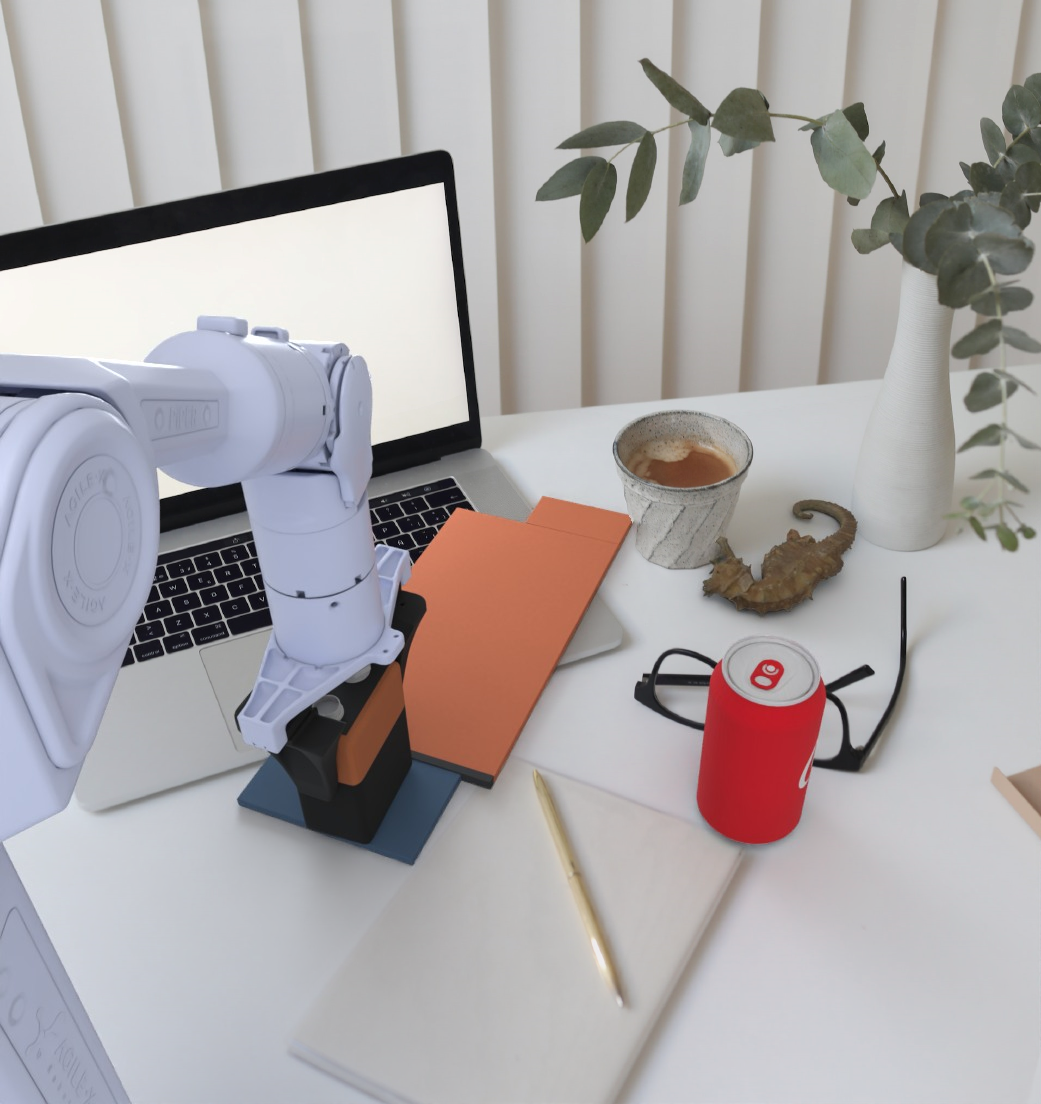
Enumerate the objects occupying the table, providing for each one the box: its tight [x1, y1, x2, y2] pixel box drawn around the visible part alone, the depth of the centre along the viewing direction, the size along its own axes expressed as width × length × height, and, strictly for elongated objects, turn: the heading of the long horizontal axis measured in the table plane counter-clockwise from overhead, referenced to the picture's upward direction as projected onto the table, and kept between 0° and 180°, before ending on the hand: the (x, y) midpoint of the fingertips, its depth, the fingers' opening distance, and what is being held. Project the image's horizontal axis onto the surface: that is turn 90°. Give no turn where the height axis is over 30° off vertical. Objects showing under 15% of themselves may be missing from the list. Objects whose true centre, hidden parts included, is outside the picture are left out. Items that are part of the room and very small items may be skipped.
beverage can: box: [696, 634, 827, 845], centre depth 61 cm, size 6×6×12 cm
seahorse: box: [702, 499, 859, 618], centre depth 81 cm, size 9×16×3 cm, turn 126°
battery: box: [297, 661, 412, 845], centre depth 62 cm, size 4×7×10 cm, turn 161°
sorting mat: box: [236, 495, 633, 866], centre depth 76 cm, size 36×14×1 cm, turn 158°
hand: (351, 743), depth 62 cm, fingers open, 7 cm apart
